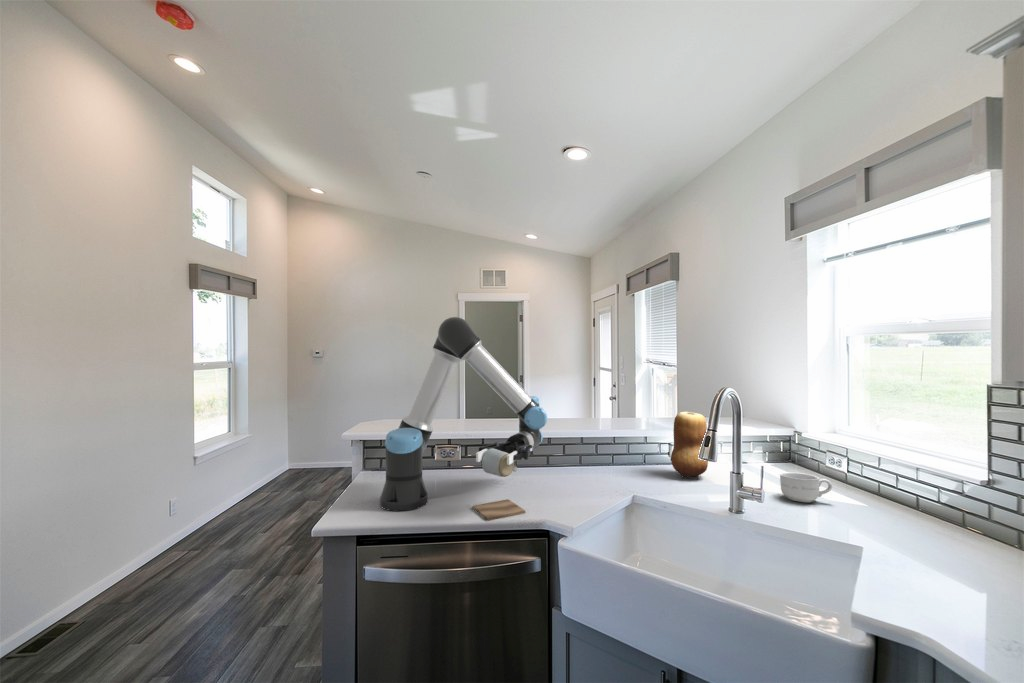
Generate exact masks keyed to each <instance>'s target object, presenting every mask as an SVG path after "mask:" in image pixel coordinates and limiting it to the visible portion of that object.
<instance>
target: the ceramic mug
mask: <svg viewBox="0 0 1024 683" xmlns="http://www.w3.org/2000/svg"><path fill="white" fill-rule="evenodd" d="M507 455H509V454H508V453H506V452H504V451H500V450H497V449H494V448H491V449H488V450H487V451H486V452H485V453H484V455H483V458H482V460H481V466H482V469H483V471H484V472H485V473H487V474H490V475H494V476H498V477H503V478H505V477H509V476H510V475H511V474H512V473H513V472H514V473H516V472H517V470H518V466H516V465H515V462H516V461H515V462H513V463H512V464H510V465H507Z"/></svg>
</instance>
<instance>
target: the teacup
mask: <svg viewBox="0 0 1024 683" xmlns="http://www.w3.org/2000/svg"><path fill="white" fill-rule="evenodd" d="M779 478H780V480H779V482H780V484H779V485H780V490H781V492H782V494H783V495H784V496H785V497H786V498H787V499H788V500H791V501H794V502H800V503H812V502H814V501H815V500H816V499H818V498H821V497H822V496H823V495H825V494H828V493H830V492H831V491H832V489H833V484H832V482H831V481H830V480H829V479H826V478H819V476H816V475H812V474H809V473H802V472H781V473H779ZM823 483H826V484H827V486H828V487H827V488H826V489H824V490H821V491H820V487H821V485H822V484H823Z"/></svg>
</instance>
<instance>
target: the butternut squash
mask: <svg viewBox="0 0 1024 683" xmlns="http://www.w3.org/2000/svg"><path fill="white" fill-rule="evenodd" d="M673 421H674V422H673V448H672V452H671V455H670V459H669V460H670V461H671V465H672V468H673V469H674V470H675V471H676V472H677V474H679V475H680V476H681V477H682V476H683V477H689V478H691V477H692V478H698V477H699V476H701V475H703V474H704V473H706V471H707V470H708V467H709V466H708V465H709V460H708V461H704V460H700V459H698V455H699V450H700V447H701V444H702V441H703V438H704V435H705V433H706V434H707V432H706V430H708V429H707V428H708V427H707V425H708V424H707V419H706V417H705V416H704V415H702V414H701V413H697V412H691V411H681V412H678V413H676V416H675V417H674V420H673ZM683 477H682V478H683Z"/></svg>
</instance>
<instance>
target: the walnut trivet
mask: <svg viewBox="0 0 1024 683" xmlns="http://www.w3.org/2000/svg"><path fill="white" fill-rule="evenodd" d="M473 508H474V509H475V510H476V511H477V512H478V513H477V512H476V511H475V510H474V509H473ZM472 509H473V510H474V511H475V512H476V513H477V514H479V515H480V516H481V515H482V516H483V517H484V520H486V521H487V522H488V521H493V520H494V521H495V520H499V519H503V518H508V516H509V517H513V516H517V515H522V514H523V515H524V514H526V509H524V508H522V507H521V506H519V505H518V504H516V503H514V501H512V500H510V499H502V500H496V501H491V502H486V503H479V504H475V505H472ZM482 516H481V517H482ZM483 517H482V518H483Z"/></svg>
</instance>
